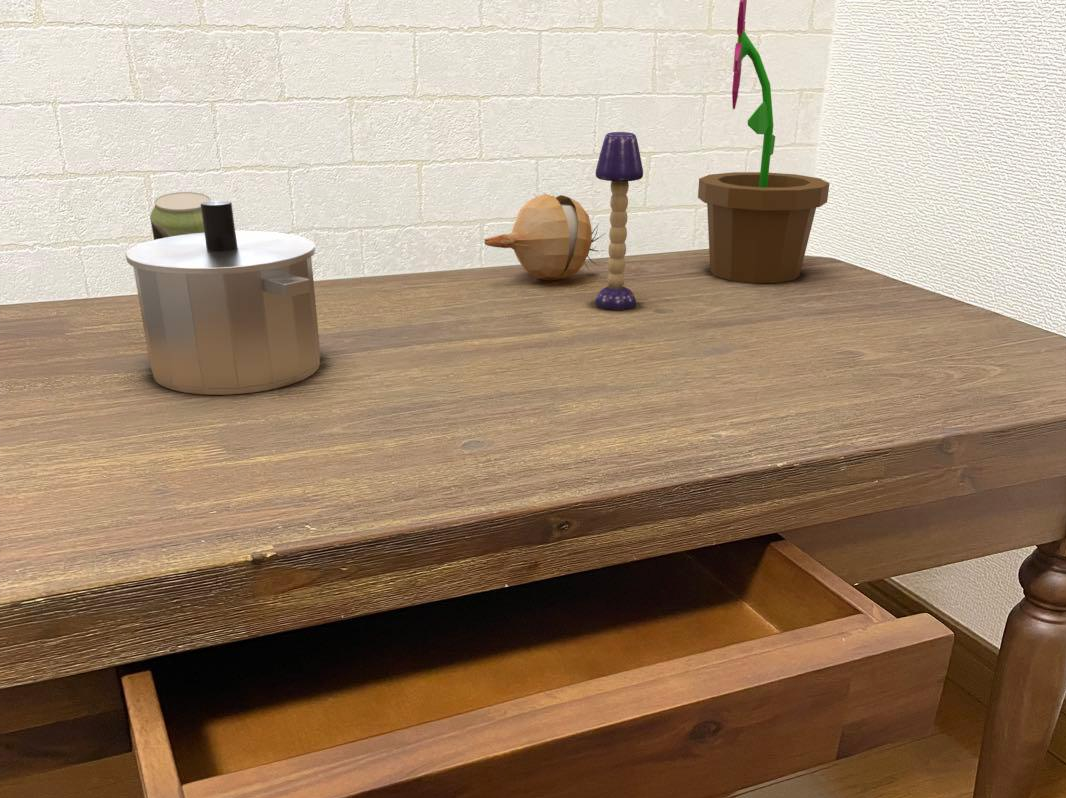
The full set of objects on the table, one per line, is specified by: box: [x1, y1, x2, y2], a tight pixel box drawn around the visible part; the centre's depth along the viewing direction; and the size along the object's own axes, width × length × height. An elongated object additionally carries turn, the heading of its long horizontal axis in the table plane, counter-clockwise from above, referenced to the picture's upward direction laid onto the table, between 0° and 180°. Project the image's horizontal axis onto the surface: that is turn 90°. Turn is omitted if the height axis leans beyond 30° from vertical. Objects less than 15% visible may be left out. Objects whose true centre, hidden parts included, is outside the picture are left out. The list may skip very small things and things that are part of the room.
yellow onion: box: [483, 193, 606, 282], centre depth 115 cm, size 9×9×15 cm
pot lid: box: [125, 199, 316, 275], centre depth 83 cm, size 15×15×5 cm
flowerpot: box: [697, 0, 830, 284], centre depth 114 cm, size 14×14×30 cm
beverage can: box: [149, 191, 212, 240], centre depth 97 cm, size 6×7×12 cm
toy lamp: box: [594, 131, 644, 311], centre depth 103 cm, size 5×5×17 cm
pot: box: [132, 256, 322, 396], centre depth 86 cm, size 14×19×10 cm
